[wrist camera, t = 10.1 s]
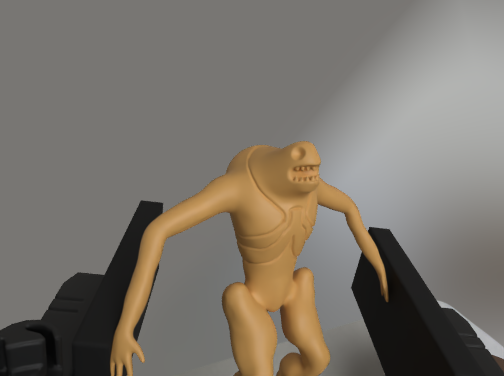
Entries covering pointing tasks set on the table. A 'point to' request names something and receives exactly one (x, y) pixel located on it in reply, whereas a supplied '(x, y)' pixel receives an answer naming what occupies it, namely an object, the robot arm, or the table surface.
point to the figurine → (255, 258)
